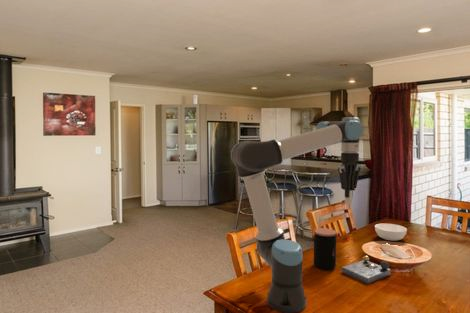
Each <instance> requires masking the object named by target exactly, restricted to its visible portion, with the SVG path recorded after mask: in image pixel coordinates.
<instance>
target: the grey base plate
mask: <svg viewBox="0 0 470 313" xmlns="http://www.w3.org/2000/svg"><path fill="white" fill-rule="evenodd" d="M370 264H373V265H375V267H376V268H375V269H371V268H368V266H369V265H370ZM341 273H343V274H345V275H347V276H349V277H352V278H354V279H356V280H358V281H360V282H363V283H364V284H366V285H367V284H371V283H373V282H376V281H378V280H379V281H380V279H383V278H386V277H388V276H391V273H392V272H391V269H390V268H388V269H383V268H382V267H381V266H380V264H377V263H374V262H371V261H370V260H369V261H368V262H365V261H363V259H362V260H360V261H357V262H354V263H351V264H348V265H345V266H341Z"/></svg>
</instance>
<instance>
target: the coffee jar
mask: <svg viewBox="0 0 470 313" xmlns="http://www.w3.org/2000/svg"><path fill="white" fill-rule="evenodd" d="M313 232H314V235H313V265H314V267H315V268H316V269H318V270H321V271H326V272H327V271H333V270H334V269H335V268H336V266H337V233H338V232H337V231H336V230H334V229H333V228H332V229H331V228H327V227H326V228H325V227H319V228H315V229H314V230H313Z"/></svg>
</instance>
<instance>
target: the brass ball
mask: <svg viewBox="0 0 470 313" xmlns="http://www.w3.org/2000/svg"><path fill="white" fill-rule="evenodd" d="M362 260H363V261H365V262H368V261H369V262H370V257H369V256H368V255H363V257H362Z"/></svg>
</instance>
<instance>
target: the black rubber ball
mask: <svg viewBox="0 0 470 313" xmlns="http://www.w3.org/2000/svg"><path fill="white" fill-rule="evenodd" d="M379 265H380V266H381V267H382V268H383V269H390V264H389V262H388V261H386V260H382V261H381V262H380V264H379Z"/></svg>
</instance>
